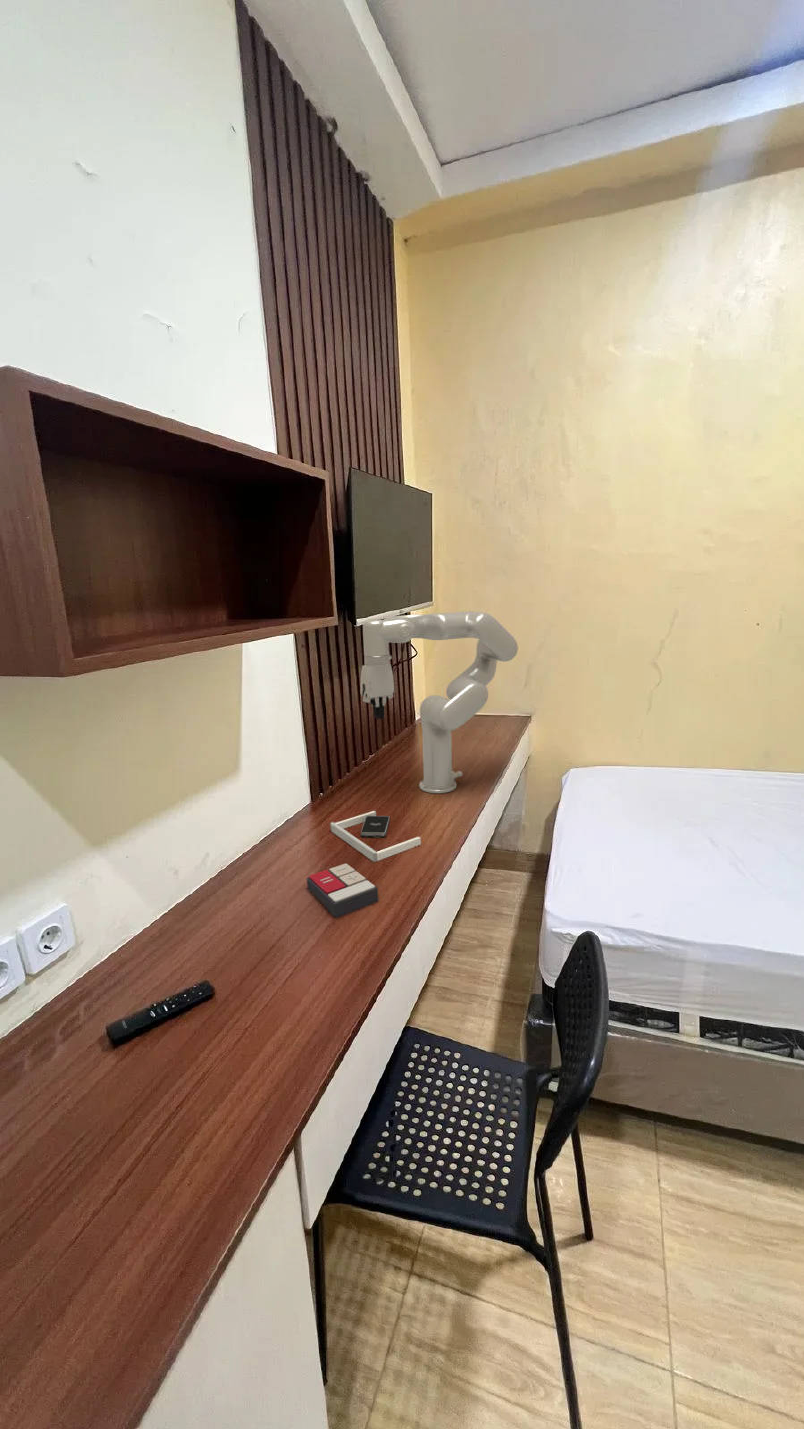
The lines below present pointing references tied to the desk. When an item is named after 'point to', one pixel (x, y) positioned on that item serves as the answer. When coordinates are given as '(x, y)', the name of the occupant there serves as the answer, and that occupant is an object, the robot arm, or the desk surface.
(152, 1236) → the desk surface
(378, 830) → the external hard drive
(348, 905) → the button keypad
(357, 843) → the white u-shaped frame
